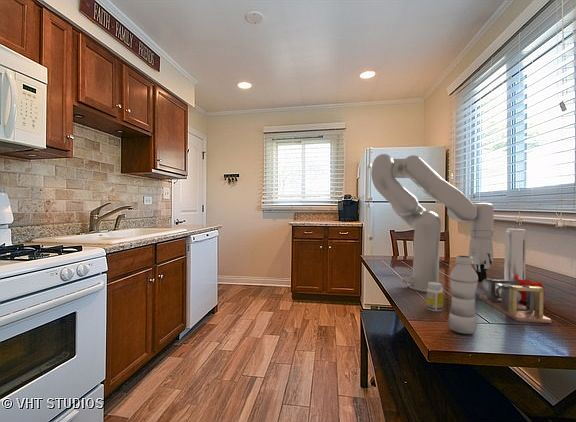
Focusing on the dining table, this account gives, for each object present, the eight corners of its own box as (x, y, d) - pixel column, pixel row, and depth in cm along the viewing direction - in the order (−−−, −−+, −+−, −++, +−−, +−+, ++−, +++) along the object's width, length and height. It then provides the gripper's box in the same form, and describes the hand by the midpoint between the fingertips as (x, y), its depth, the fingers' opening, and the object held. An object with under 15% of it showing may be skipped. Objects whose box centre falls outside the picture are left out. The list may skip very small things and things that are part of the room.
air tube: (505, 303, 98) (505, 289, 98) (480, 290, 114) (481, 277, 114) (521, 304, 98) (521, 289, 97) (494, 290, 113) (494, 278, 113)
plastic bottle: (442, 327, 83) (444, 254, 83) (466, 327, 84) (467, 254, 83) (458, 337, 77) (459, 258, 76) (483, 337, 77) (484, 258, 77)
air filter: (517, 290, 122) (518, 228, 122) (528, 295, 115) (530, 229, 115) (500, 290, 123) (501, 227, 122) (510, 294, 116) (511, 229, 116)
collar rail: (517, 321, 89) (518, 288, 88) (478, 297, 111) (479, 272, 111) (551, 323, 87) (552, 290, 87) (505, 299, 110) (505, 273, 110)
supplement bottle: (441, 308, 100) (442, 282, 100) (444, 312, 95) (444, 285, 95) (425, 306, 101) (426, 281, 101) (427, 310, 97) (427, 284, 97)
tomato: (506, 297, 112) (507, 277, 112) (531, 298, 112) (531, 277, 112) (525, 305, 103) (526, 283, 103) (552, 306, 103) (553, 284, 102)
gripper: (462, 232, 127) (462, 276, 127) (480, 236, 112) (480, 286, 112) (482, 233, 126) (481, 277, 126) (502, 236, 111) (502, 286, 111)
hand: (480, 281), depth 119 cm, fingers closed
